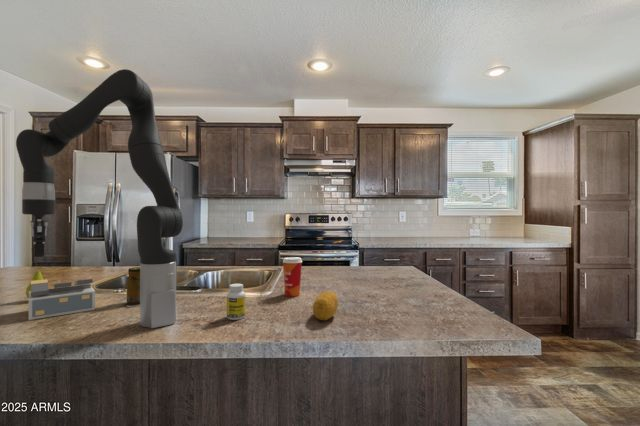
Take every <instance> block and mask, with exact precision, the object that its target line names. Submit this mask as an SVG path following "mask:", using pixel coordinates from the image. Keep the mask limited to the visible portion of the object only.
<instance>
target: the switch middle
mask: <svg viewBox="0 0 640 426" xmlns="http://www.w3.org/2000/svg"><path fill="white" fill-rule="evenodd" d="M52 284H53V286H52V287H53V288H62V287H70V286H72V282H71V281H62V282H53V283H52Z"/></svg>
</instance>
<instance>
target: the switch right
mask: <svg viewBox="0 0 640 426" xmlns="http://www.w3.org/2000/svg"><path fill="white" fill-rule="evenodd" d="M73 283H74V284H73V286H79V285H87V284H93V283H94V281H93V278H89V279H82V280H74V282H73Z"/></svg>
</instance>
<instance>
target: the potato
mask: <svg viewBox="0 0 640 426" xmlns="http://www.w3.org/2000/svg"><path fill="white" fill-rule="evenodd" d="M338 308H339V300H338V296H337V295H336V294H335V292H333V291H328V290H327V291H323V292H321V293H320V294H319V295H318V296H317V297H316V298H315V300H314V301H313V304H312V313H313V315H314V316H315V318H316V319H318V320H320V321H328V320H329V319H330V318H332V317H333V316H334V315H335V314H336V312H337V310H338Z"/></svg>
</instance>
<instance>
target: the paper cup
mask: <svg viewBox="0 0 640 426" xmlns="http://www.w3.org/2000/svg"><path fill="white" fill-rule="evenodd" d="M302 264H303V260H302V258H301V257H296V256H289V257H284V258H283V260H282V265H283V280H284V281H283V283H284V295H285V296H286V297H298V296H300V294H301V293H300V292H301V283H302V282H301V281H302V279H301V278H302V267H303V266H302Z"/></svg>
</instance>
